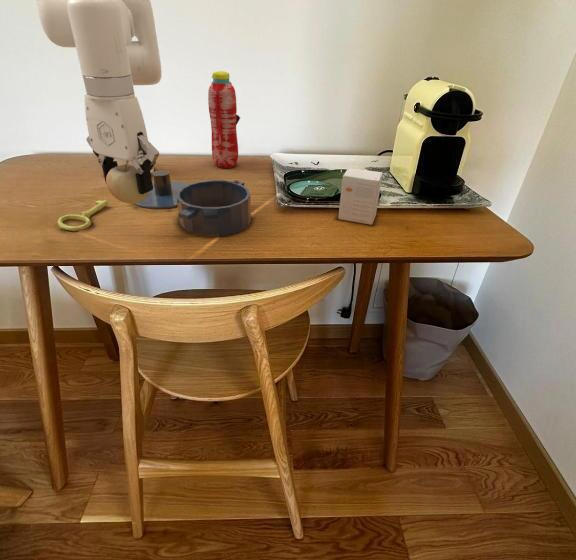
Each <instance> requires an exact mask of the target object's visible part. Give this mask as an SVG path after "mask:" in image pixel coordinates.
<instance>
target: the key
mask: <svg viewBox="0 0 576 560" xmlns="http://www.w3.org/2000/svg"><path fill="white" fill-rule="evenodd" d="M94 203H95V205H94V206H93V207H91V208H90V209H88V210H87V211H82V212H81V214H77V213H75V214H74V213H72V214H65V215H62V216H60V217H59V218H58V219H57V225H58V226H59V228H60V229H62V230H65V231H70V232H78V231H79V230H84V229H88V228H89V227H91V226H92V221H91V219H90V218H91V216H93V215H94V214H96V213H98V212H99V211H101V210H102V209H104V208H105V207H107V206H108V205H109V201H108V200H107V199H103V200H100V199H98V200H96V201H95V202H94ZM68 220H76V221H77V220H78V221H82V222H84V224H81V225H67V224H65V223H63V222H65V221H68Z"/></svg>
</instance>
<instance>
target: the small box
mask: <svg viewBox="0 0 576 560" xmlns="http://www.w3.org/2000/svg"><path fill="white" fill-rule="evenodd" d="M382 179H383V172H382V171H375V170H368V169H359V168H353V167H348V168H347V170H346V171H345V172H344V174H343V175H342V181H341V188H340V189H341V190H340V197H339V198H340V199H339V207H338V208H339V209H338V217H337V219H338V220H340V221H341V220H342V221H347V222H353V223H360V224H366V225H370V226H371V225H373V224H374V221H375V218H376V216H377V211H378V204H379V198H380V192H381V186H382Z"/></svg>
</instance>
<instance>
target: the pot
mask: <svg viewBox="0 0 576 560" xmlns="http://www.w3.org/2000/svg"><path fill="white" fill-rule="evenodd" d="M251 201H252V200H251V192H250V189H249V188H248V187H247V186H245V182H243V181H239V180H234V181H230V180H222V179H221V180H219V179H210V180H209V179H208V180H200V181H195V182H192V183H188V185H186V186H184V187H182V188H181V189H180V190H179V191H178V192H177V205H178V207H177V217H178V220H179V225H180V226H181V227H183V229H185V230H187V231H189V232H191V233H193V234H194V233H195V234H199V235H205V236H216V238H220V237H221V238H222V237H228V236H232V235H235V234H238V233H241V232H243V231H244V230H245V229H246V228H248V227H249V225H250V223H251V221H252V220H251V219H252V210H251V209H252V207H251Z"/></svg>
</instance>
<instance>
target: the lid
mask: <svg viewBox="0 0 576 560" xmlns="http://www.w3.org/2000/svg"><path fill="white" fill-rule="evenodd" d="M151 177H152V184H153V190H151V191H149V193H148V195H147V197H146V198H145V199H144V200H142V201H141V202H138V203H132V204H133V205H134V206H136V207H139V208H144V209H149V210H150V209H151V210H166V209H173V208H174V209H175V208H178V205H177V192H178V191H179V190H180V189H181V188H182V187H184V186H186V185H188V184H189V183H188V182H184V181H177V180H171V173H170V171H169V170H167V169H166V170H164V169H159V170H154V171H153V173H152V174H151Z"/></svg>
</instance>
